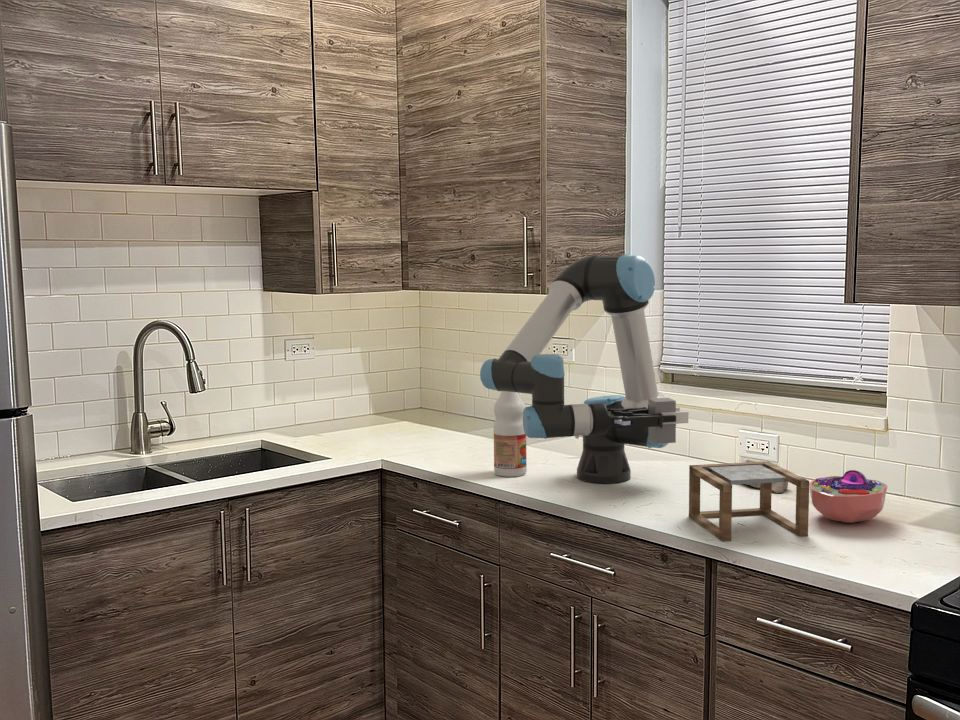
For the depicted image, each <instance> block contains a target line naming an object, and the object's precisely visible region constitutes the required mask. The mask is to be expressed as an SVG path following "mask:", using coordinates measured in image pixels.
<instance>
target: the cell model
mask: <svg viewBox="0 0 960 720" xmlns="http://www.w3.org/2000/svg"><path fill="white" fill-rule="evenodd" d="M887 490H888V485H887V484H886V483H885V482H881V481H879V480H875V479H870V478H869V479H868V478H867V477H866V475H865V474H864V473H862V472H860V471H859V470H855V469H850V470H847V471H845V472H844V474H843V475H842V476H841V475H840V476H838V475H834V476H832V475H831V476H826V477H825V476H823V477H818V478H817V477H816V478H814V479H813V480H811V481H809V496H810V499H811V504H812V506H813V507H814V508H815V510H816V511H817V512H819V513H820V514H821V515H822V516H823V517H825V518H827V519H829V520H832V521H837V522H842V523H846V524H847V523H848V524H854V523H857V522H864V521H868V520H871V519H874V518H876V517H877V515H878V514H880V513H881V512H882V511H883V509H884V506H885V503H886V502H885V501H886V495H887Z"/></svg>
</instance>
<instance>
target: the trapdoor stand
mask: <svg viewBox="0 0 960 720" xmlns="http://www.w3.org/2000/svg"><path fill="white" fill-rule="evenodd" d="M744 465H764V467H766V468H768V469H770V470H772V471H774V472H776V473H778V474H780V475H782V476H784V477H786V481H788V483H790V484H792V485H794V486H796V489H795V492H796V493H795V523H794V522H793V521H791V520H790V519H788V518H786V517H784V516H782V515H781V514H779V513H778V512H776V511H774V510H772V492H773V491H772V483H760V488H759V507H755V508H738V509H733V485H731V484H729V483H728V482H726V481H724V480H723V479H721V478H719V477H717V476H716V475H714V474H712V473H710V472H709V471H707V470H705V467H724V466H744ZM688 469H689V471H688V473H689V475H688V477H689V480H688V481H689V482H688V517H689V518H691V519H692V520H693V521H694V522H696V523H698V524H699V525H700V527H702V528H704V529H705V530H707V531H708V532H710V533H711V534H712V535H714V536H715V537H716V538H717V539H719V540H720V541H722V542H732V526H733V525H732V521H733V517H738V516H739V517H740V516H741V517H742V516H756V515H757V516H758V515H759V516H760V515H763V516H765V517H767V518H769V519H770V520H772V521H774V522H775V523H777V524H779V525H780V526H782V527H784V528H785V529H787V530H788V531H790V532H792V533H793V534H794V535H796V536H798V537H808V536H809V515H810V514H809V513H810V480H808V479H806V478H804V477H802V476H800V475H797V474H795V473H794V472H792V471H789V469H788V470H787V469H785V468H784V467H781V466H779V465H777V464H775V463H773V462H771V461H768V460H765V461H755V462H745V461H744V462H729V463H728V462H726V463H707V464H690V465H688ZM701 480H702V481H704V482H706V483H708V484H709V485H711V486H712V487H714V488H716V489H717V490H719V506H718V507H719V510H704V511H702V510H701ZM709 518H719V520H718V522H719V523H718V525H716V524H715V523H713V522H712V521H710V520H709Z"/></svg>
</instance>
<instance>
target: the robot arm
mask: <svg viewBox="0 0 960 720" xmlns="http://www.w3.org/2000/svg"><path fill="white" fill-rule="evenodd" d="M655 278H656V277H655V273H654V270H653V268H652V265H651V264H650V262H649V261H648V260H647V259H645V258H644V257H642V256H640V255H631V254H615V255H614V254H612V255H611V254H610V255H596V254H595V255H588V256H584V257H581V258H579V259H578V260H576V261H574V262H572V263H571V264H569V265H568V266H567V267H566V268H564V269H563V270H562V271H561V272H560V273H559V274H558V275H557V276H556V277H555V279H554V280H553V281H552V282H551V283H550V285H549V286H548V293H547V295H546V296H545V298H543V300H542V302H541V303H540V304H539V306H538V307H536V309H535V310H534V312H533V313H532V315H531V316H530V317H529V318H528V320H527V321H526V322H525V324H524V325H523V326H522V328H520V331H518V332H517V334H516V336H515V337H514V338H513V340H512V341H511V342H510V343H509V345H508V346H507V347H506V349H505V350H504V351H503V352H502V354H501V355H500V357H499V358H489V359H487V360H485V361H483V363H482V365H481V367H480V371H479V376H480V377H479V378H480V381H481V383H482V386H483V387H485V388H486V389H487V390H491V391H492V390H493V391H496V392H501V391H507V392H518V394H519V393H521V394H528V395H529V394H530V395H531V405H529V406H525V408H524V410H523V429H524V432H525V435H526V438H529V439H545V440H546V439H553V438H566V437H574V438H575V439H577V440H578V439H580V436H581V437H582V452H581V455H580V458H579V461H578V463H577V468H576V478H577V479H579V480H581V481H584V482H589V483H593V484H594V483H595V484H617V483H623V482H626V481H629V480H630V479H631V476H632V475H631V473H632V472H631V467H630V463H629V461H628V458H627V454H626V452H625V451H626V450H625V445H631V446H639V447H645V448H648V449H652V448H653V449H654V448H655V449H662V448H665V447H666V446H667V445H668V444H669V443H660V444H655V443H653V442H652V441H650V440H648V427H657V426H659V427H660V428H663V424H676V425H678V424H679V425H681V424H688V423H689V411H685V410H684V411H683V410H682V411H681V410H680V407H678V406H676V412H662V413H659V414H648V399H651V398H665V396H664V394H663V393H661V392H660V391H659V390H658V386H657V379H656V373H655V369H654V361H653V356H652V355H653V354H652V350H651V344H650V337H649V332H648V325H647V320H646V313H645V309H646V308H647V307H648V306H649V303H650V300H651V298H653V294H654V292H655V288H654V287H655V286H656V279H655ZM588 301H589V302H590V301H602V305H603V311H604V312H605V313H607V314H608V315H609V316H610V317H611V322H612V327H613V334H614V339H615V344H616V350H617V356H618V360H619V361H618V362H619V366H620V371H621V372H620V373H621V379H622V385H623V388H624V395H625V396H624V395H621V394H613V395H612V394H611V395H602V396H594V397H590V398H587V399H586V400H584V401H583V403H576V404H575V403H573V404H565V376H566V375H565V374H566V373H565V365H564V358H563V357H562V356H561V355H559V354H553V353H548V354H547V353H542V352H543V351H544V349H545V348H546V347H547V345H548V344H549V343H550V341H551V340H552V339H553V337H554V336H555V335H556V333H557V332H558V331H559V329H560V328H561V327H562V326H563V323H564V322H565V321H566V319H568V317H569V316H570V314H571V313H572V311H576V310H578V309H579V308H580V307H581V306H582V304H584V303H585V302H588Z"/></svg>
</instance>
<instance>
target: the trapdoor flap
mask: <svg viewBox="0 0 960 720" xmlns="http://www.w3.org/2000/svg"><path fill="white" fill-rule="evenodd" d="M705 470H707V471H709V472H710V473H712V474H714V475H716V476H717V477H719V478H721V479H723V480H724V481H726V482H728V483H729V484H731V485H732V486H734V485H736V486H737V485H747V484H755V483H774V482H786V477H784V476H782V475H780V474H778V473H776V472H774V471H772V470H770V469H768V468H766V467H764V465H744V466H724V467H705Z"/></svg>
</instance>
